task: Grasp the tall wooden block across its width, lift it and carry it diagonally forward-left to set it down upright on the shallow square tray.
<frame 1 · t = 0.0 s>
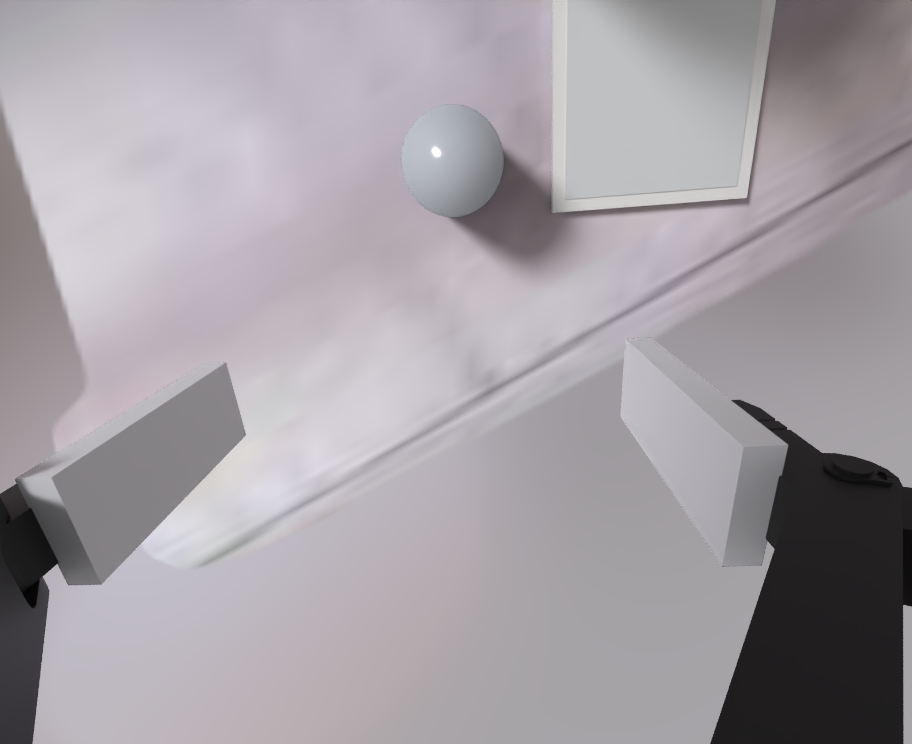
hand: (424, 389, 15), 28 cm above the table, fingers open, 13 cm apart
pale grey egg: (456, 170, 38), on the table
shallow square tray: (652, 98, 36), on the table
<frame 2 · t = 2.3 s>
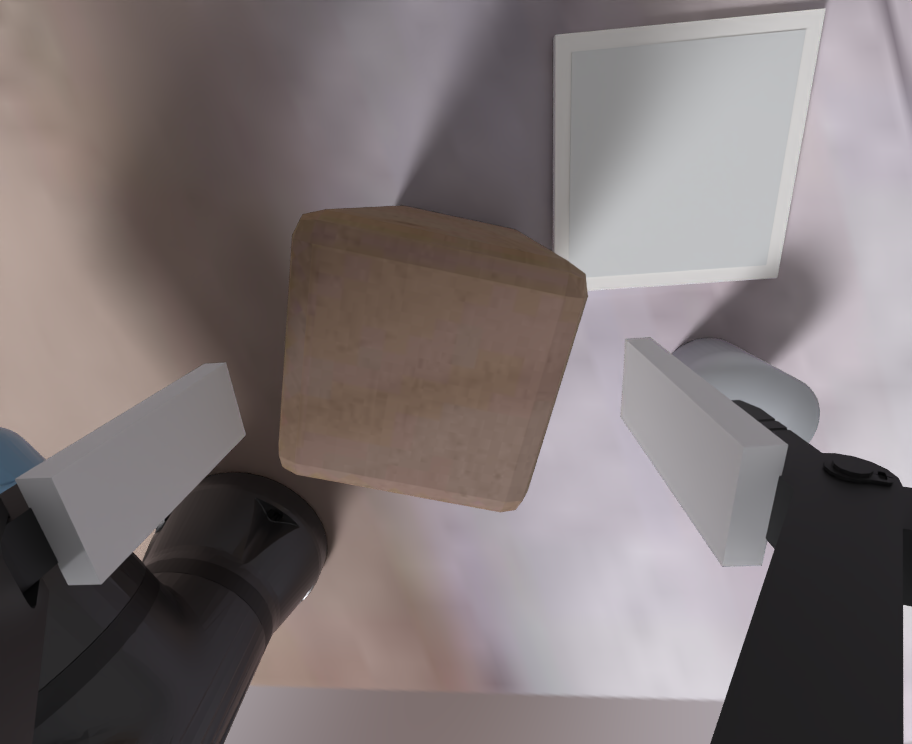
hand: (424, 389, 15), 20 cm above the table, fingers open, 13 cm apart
pale grey egg: (701, 379, 36), on the table
wooden block: (446, 284, 34), on the table
shallow square tray: (670, 167, 31), on the table
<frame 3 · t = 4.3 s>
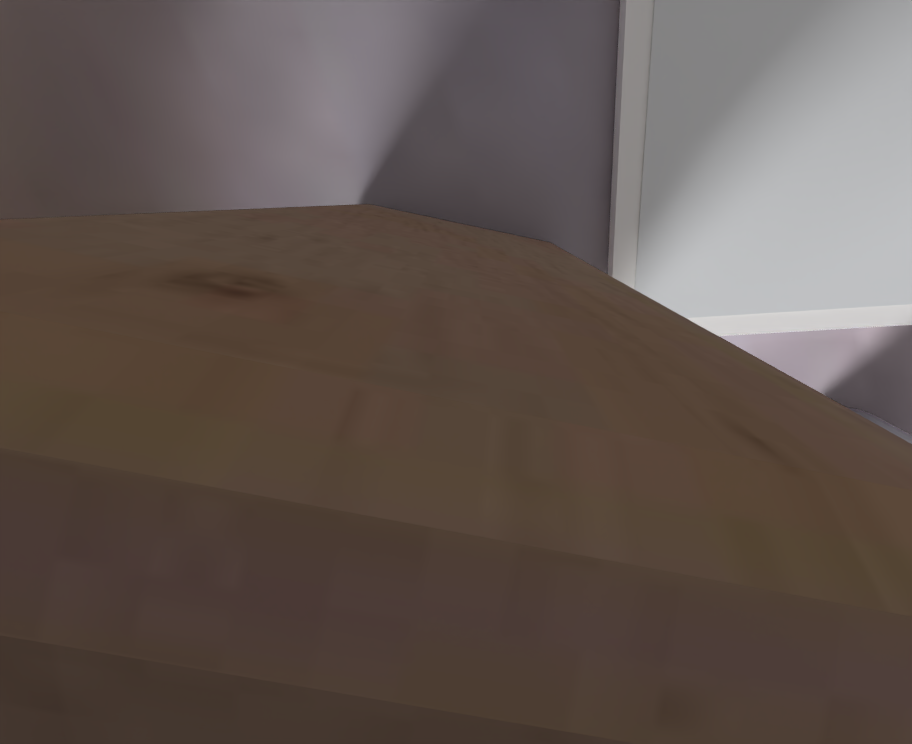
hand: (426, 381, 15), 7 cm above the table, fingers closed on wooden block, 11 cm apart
pale grey egg: (823, 466, 24), on the table
wooden block: (440, 326, 22), on the table, touching gripper
shallow square tray: (808, 141, 19), on the table
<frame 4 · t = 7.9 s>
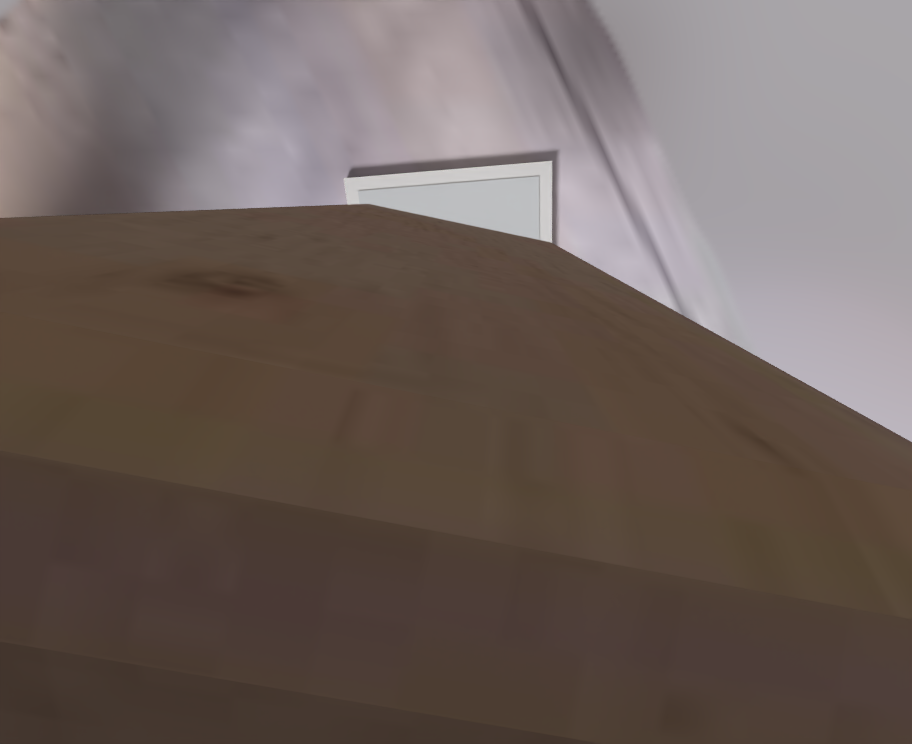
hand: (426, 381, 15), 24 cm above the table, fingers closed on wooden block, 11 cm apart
wooden block: (440, 325, 22), point 17 cm above the table, touching gripper
shallow square tray: (454, 273, 38), on the table
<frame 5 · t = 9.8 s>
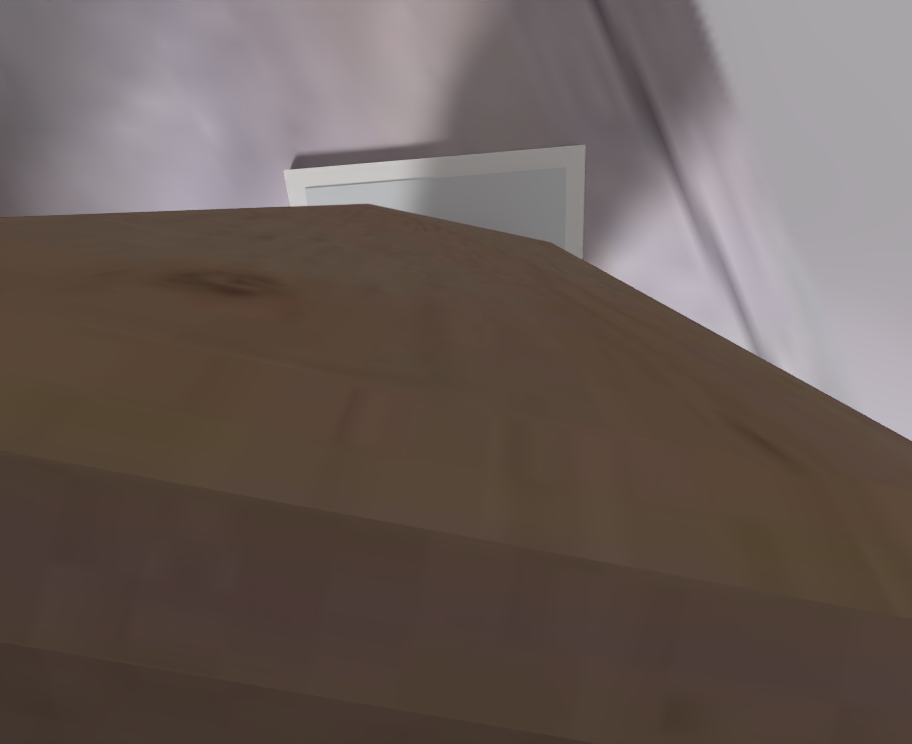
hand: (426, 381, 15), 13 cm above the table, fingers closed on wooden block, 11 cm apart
wooden block: (440, 325, 22), point 5 cm above the table, touching gripper
shallow square tray: (444, 304, 27), on the table
when the fingers open (10 cm above the table, at t = 11.5 s): wooden block drops 2 cm, resting on shallow square tray.
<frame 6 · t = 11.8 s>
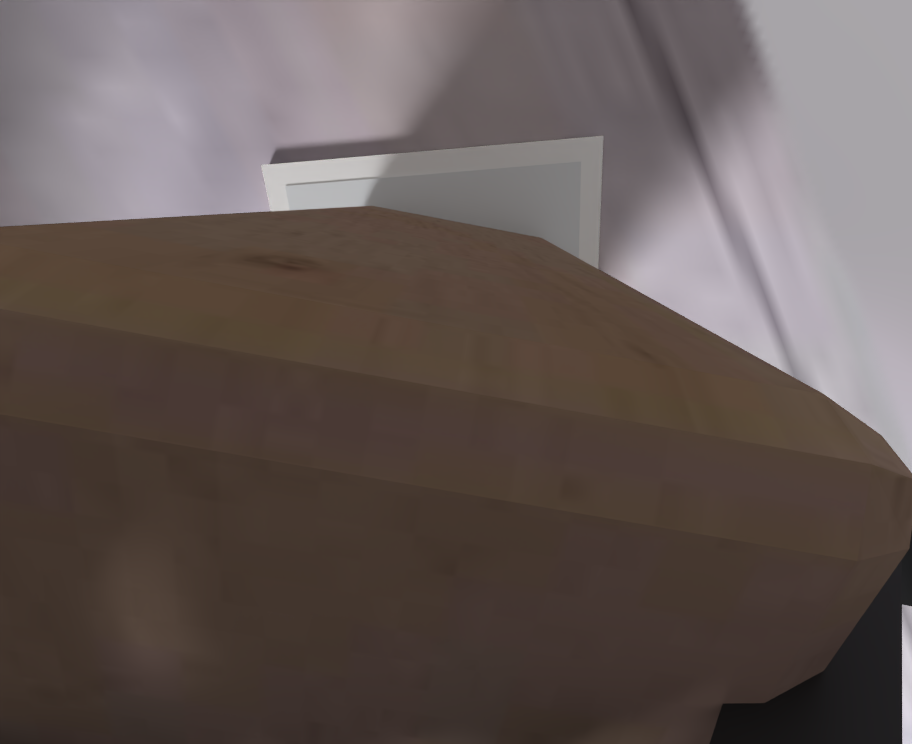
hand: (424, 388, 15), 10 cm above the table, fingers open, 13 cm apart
wooden block: (441, 318, 24), point 1 cm above the table, touching shallow square tray
shallow square tray: (443, 314, 24), on the table
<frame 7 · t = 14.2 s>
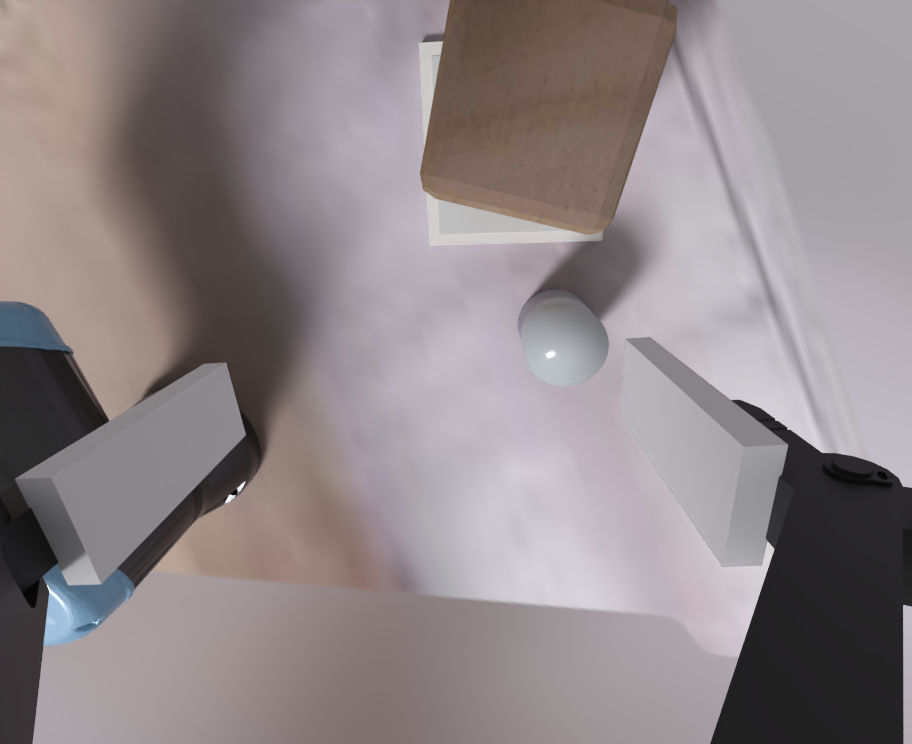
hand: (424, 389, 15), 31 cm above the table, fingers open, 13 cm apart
pale grey egg: (552, 323, 45), on the table
wooden block: (515, 148, 39), point 1 cm above the table, touching shallow square tray
shallow square tray: (515, 148, 39), on the table
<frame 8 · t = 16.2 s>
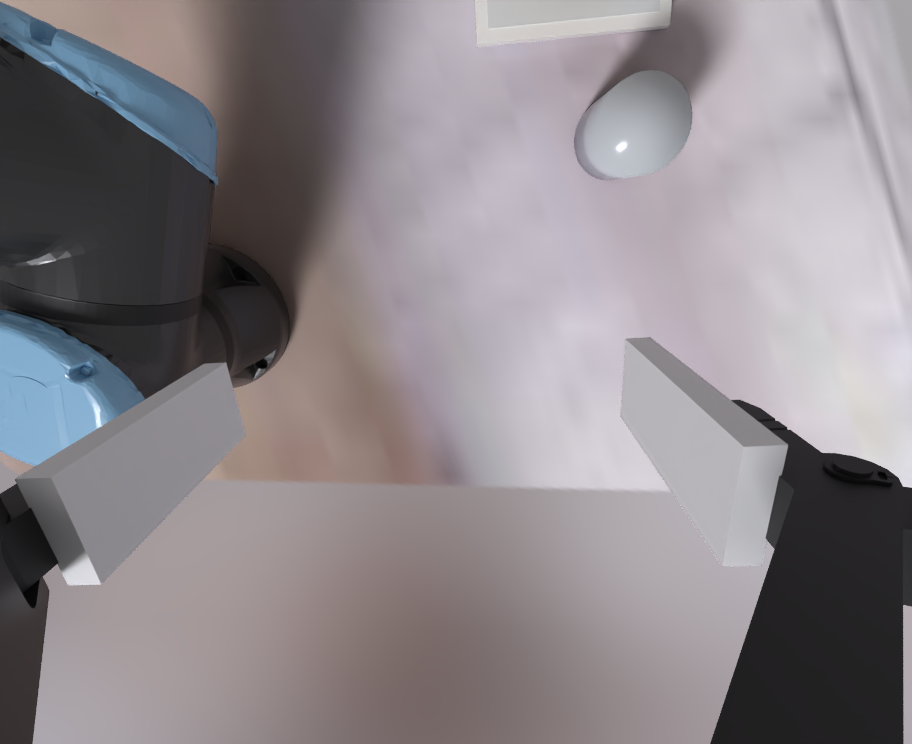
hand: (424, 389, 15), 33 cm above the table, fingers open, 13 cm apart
pale grey egg: (612, 138, 41), on the table
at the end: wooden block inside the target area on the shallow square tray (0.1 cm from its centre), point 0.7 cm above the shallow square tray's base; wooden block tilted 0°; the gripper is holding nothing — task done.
